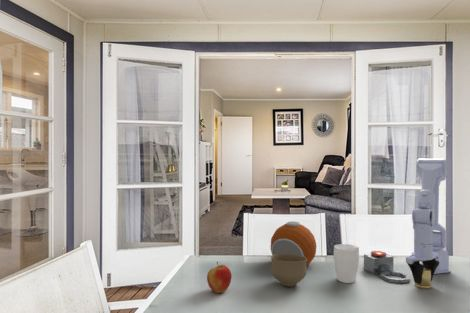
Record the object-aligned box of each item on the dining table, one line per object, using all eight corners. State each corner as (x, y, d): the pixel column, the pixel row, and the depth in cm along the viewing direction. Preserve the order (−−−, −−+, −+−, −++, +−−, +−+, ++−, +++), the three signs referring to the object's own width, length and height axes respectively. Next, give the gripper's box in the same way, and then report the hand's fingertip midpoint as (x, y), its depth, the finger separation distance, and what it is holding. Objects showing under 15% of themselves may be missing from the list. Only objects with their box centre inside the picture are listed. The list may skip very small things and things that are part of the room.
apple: (222, 298, 113) (222, 267, 113) (202, 293, 118) (202, 263, 118) (236, 290, 120) (235, 260, 120) (216, 285, 125) (216, 256, 125)
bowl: (309, 280, 129) (309, 253, 129) (304, 293, 117) (304, 263, 117) (275, 276, 133) (275, 250, 133) (267, 288, 121) (267, 259, 121)
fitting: (423, 282, 127) (423, 265, 127) (435, 287, 122) (435, 270, 122) (411, 284, 125) (411, 267, 125) (422, 289, 120) (423, 272, 120)
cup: (361, 285, 124) (361, 251, 124) (334, 283, 126) (334, 249, 126) (357, 276, 133) (357, 244, 133) (332, 274, 135) (332, 243, 135)
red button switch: (378, 264, 147) (378, 248, 147) (415, 281, 128) (415, 262, 128) (358, 267, 144) (358, 249, 144) (393, 284, 125) (393, 264, 125)
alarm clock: (322, 261, 151) (322, 221, 151) (308, 273, 136) (308, 228, 136) (280, 255, 161) (280, 217, 161) (263, 265, 146) (263, 223, 146)
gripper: (427, 238, 130) (427, 275, 130) (398, 242, 124) (398, 280, 124) (445, 242, 124) (445, 281, 124) (416, 247, 118) (415, 287, 118)
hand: (423, 281), depth 124 cm, fingers closed on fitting, 5 cm apart
